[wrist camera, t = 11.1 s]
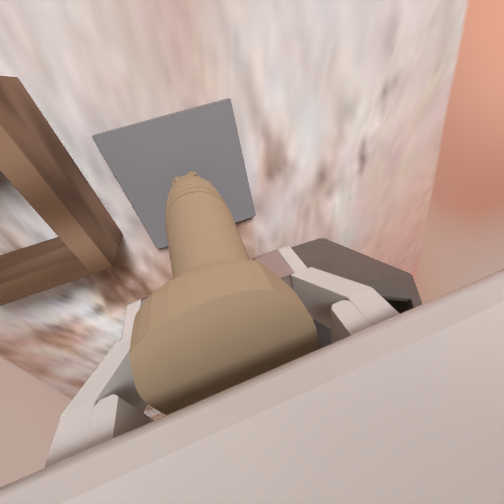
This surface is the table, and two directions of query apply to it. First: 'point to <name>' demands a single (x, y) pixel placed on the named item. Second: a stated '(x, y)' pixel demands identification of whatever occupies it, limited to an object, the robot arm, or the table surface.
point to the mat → (178, 161)
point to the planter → (359, 276)
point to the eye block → (49, 203)
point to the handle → (212, 308)
